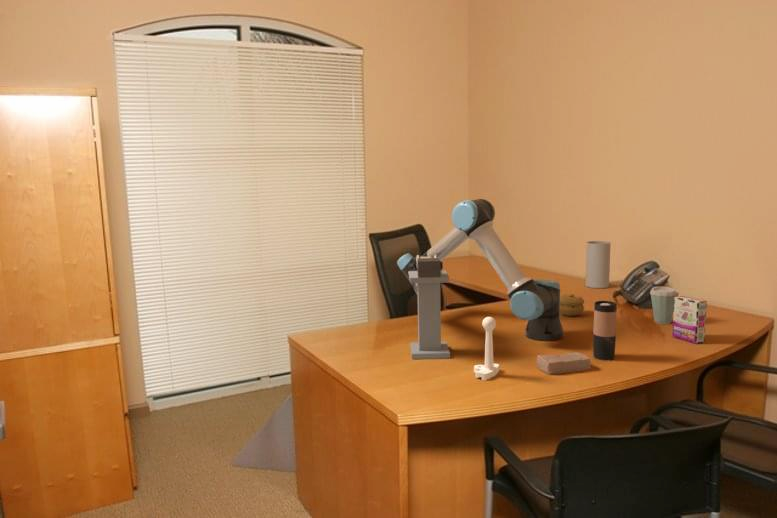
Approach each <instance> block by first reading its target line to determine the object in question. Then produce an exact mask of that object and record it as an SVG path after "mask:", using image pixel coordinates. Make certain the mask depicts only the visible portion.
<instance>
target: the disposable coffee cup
mask: <svg viewBox="0 0 777 518" xmlns="http://www.w3.org/2000/svg"><path fill="white" fill-rule="evenodd" d="M677 293H678V292H677V291H676V289H675V288H673V287H670V286H662V285H660V286H653V287H651V289H650V292H649V294H650V299H651V305H652V312H653V321H654V322H655V323H656V324H660V325H668V324H671V322H672V321H673V319H672V318H673V314H674V297H677Z"/></svg>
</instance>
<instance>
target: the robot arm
mask: <svg viewBox="0 0 777 518" xmlns="http://www.w3.org/2000/svg"><path fill="white" fill-rule="evenodd" d="M495 215H496V211H495V207H494V205H493V203H491V202H490V201H489V200H487V199H485V198H478V199H471V200H469V199H468V200H467V199H466V200H463V201H461V202H458V203H457V204H456V205H455V206H454V208H453V210H452V215H451V219H452V220H451V221H452V223H453V225H454V228H452V229H451V230H450V231H449V232H448V233H446V234H445V235H444V236H443V237H442V238H441V239H439V240H438V241H437V242H436V243H435V244H433V246H432V247H430V248H429V249H428V250H427V251H426V252H424V254H422V255H419V254H417V255H416V257H413V256H412V254H410V253H406V254H403V255H402V256H400V257H399V259H397V262H396V264H397V266H398V268H399V269H400V271H401V272H402V273H403V274H404V276H405V278H406V279H407V280H408V281H409V282H410V279H409V271H417V258H420V257H431V258H439V259H440V267H441V270H444V267H443V266H444V265H443V263H444V262H443V260H444V259H445V258H447V257H448V256H449V255H450V254H452V253H453V252H454V251H455V250H456V249H458V248H459V247H460V246H461V245H462V244H464V243H465V242H466V241H467V240H469V239H470V240H474V241H475V242H476V245H477V246H478V247H479V249H480V250H481V252H482V253H483V255H484V256H485V258H486V259H487V260H488V262H489V263H490V265H491V266H492V268H493V269H494V271H495V272H496V274H497V275H498V277H499V278H500V280H501V281H502V282H503V284H504V285H505V287H506V288H507V294H506V296H507V297H508V298H509V299H510V301H509V304H510V305H509V307H510V309H511V312H512V313H513V315H514V316H515V317H516V318H518V319H520V320H523V321H527V324H526V326H525V329H524V330H525V331H524V332H525V333H524V336H526V337H527V338H529V339H532V340H534V341H535V340H536V341H543V342H544V341H545V342H546V341H547V342H549V341H557V340H561V339H563V338H564V333H565V332H564V329H563V325H562V322H561V319H560V297H561V286H560V285H561V284H560V282H559V281H556V280H549V279H533V278H531V277H527V276H526V275H525V273H524V271H523V270H522V268H521V267H520V266H519V264H518V263H517V261H516V260H515V258H514V257H513V255H512V254H511V252H510V251H509V250H508V248H507V246H506V245H505V244H504V242H503V241H502V240H501V238H500V236H499V235H498V234H497V232H496V231H495V229H494V228H493V224H494V220H495V217H496V216H495ZM410 284H411V285H412V287H413V290H414V292H415V294H416V295H418V293H417V283H410Z"/></svg>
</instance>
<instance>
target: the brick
mask: <svg viewBox="0 0 777 518" xmlns="http://www.w3.org/2000/svg"><path fill="white" fill-rule="evenodd" d="M536 366H537V368H539V369H540V370H541V371H543V372H544V373H546V374H548V375H558V374H566V373H567V374H568V373H573V372H581V371H588V370H591V361H590V358H589V357H588V356H587V355H585V354H583V353H581V352H579V351H577V352H568V353H561V354H542V355H537V356H536Z"/></svg>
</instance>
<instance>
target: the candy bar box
mask: <svg viewBox="0 0 777 518" xmlns="http://www.w3.org/2000/svg"><path fill="white" fill-rule="evenodd" d="M707 303H708V301H707V300H704V299H700V298H699V299H698V298H694V297H690V296H689V297H688V296H683V295H681V296H676V297H674V309H673V315H672V318H673V319H672V333H671V334H672V338H675V339H679V340H682V341H685V342H689V343H692V344H695V345H696V344H701V343H702V344H703V343H705V339H706V338H705V337H706V336H705V335H706V319H707V306H708V304H707Z"/></svg>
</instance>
